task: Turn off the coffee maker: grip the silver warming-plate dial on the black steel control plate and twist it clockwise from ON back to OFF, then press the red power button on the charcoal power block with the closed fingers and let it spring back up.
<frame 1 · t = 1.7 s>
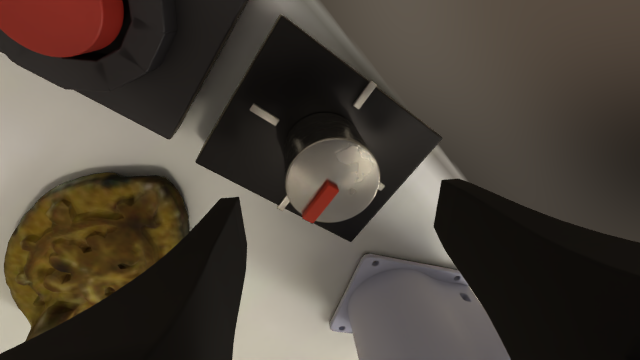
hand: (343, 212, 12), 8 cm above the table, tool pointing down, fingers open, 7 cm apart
dial plate: (317, 133, 19), on the table
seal: (107, 251, 21), on the table
dial: (328, 166, 15), point 4 cm above the table, hinge at 90.0°
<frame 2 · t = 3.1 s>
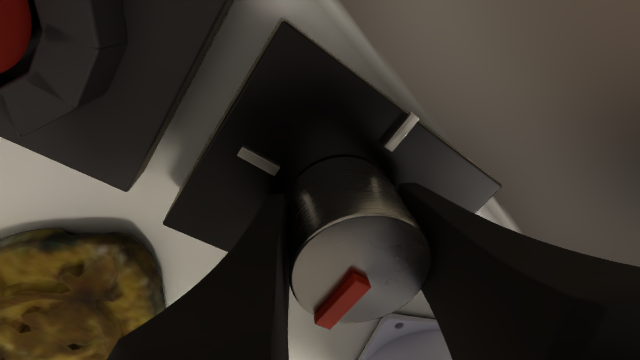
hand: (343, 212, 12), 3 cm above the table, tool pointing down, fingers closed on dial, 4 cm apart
dial plate: (329, 174, 14), on the table
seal: (60, 319, 16), on the table
dial: (350, 238, 10), point 4 cm above the table, hinge at 89.9°, touching gripper
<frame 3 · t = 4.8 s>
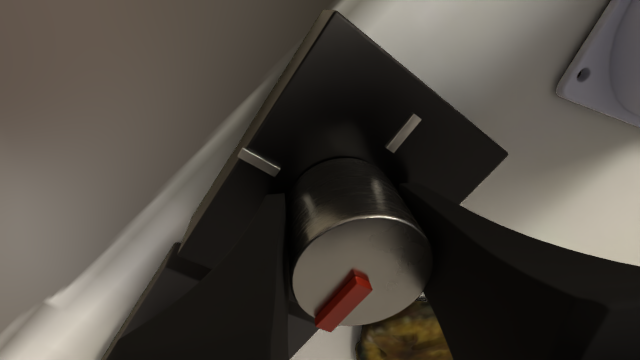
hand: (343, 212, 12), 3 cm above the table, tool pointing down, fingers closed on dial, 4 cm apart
dial plate: (330, 174, 14), on the table
power block: (206, 332, 18), on the table
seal: (439, 350, 22), on the table
dial: (351, 239, 10), point 4 cm above the table, hinge at -0.2°, touching gripper
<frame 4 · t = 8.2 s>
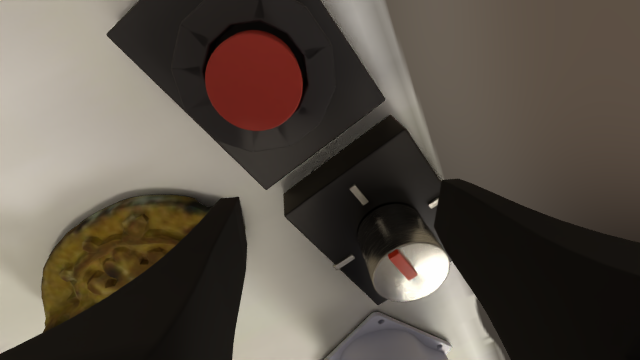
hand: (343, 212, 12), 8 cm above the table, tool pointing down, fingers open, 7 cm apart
power button: (256, 80, 13), point 4 cm above the table, slide at 0.2 cm
dial plate: (378, 208, 22), on the table
power block: (260, 64, 16), on the table
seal: (148, 261, 22), on the table
dial: (400, 252, 18), point 4 cm above the table, hinge at -0.2°
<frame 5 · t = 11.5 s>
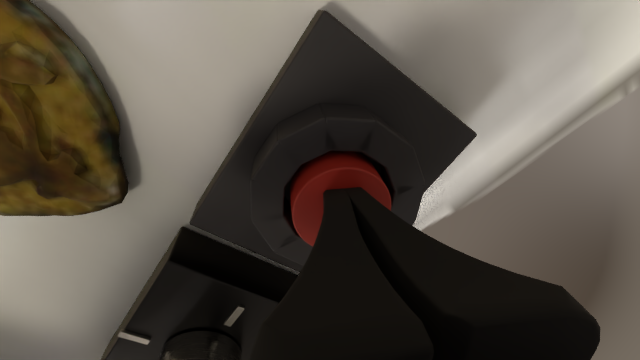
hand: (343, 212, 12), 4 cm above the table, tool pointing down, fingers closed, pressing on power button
power button: (338, 200, 12), point 3 cm above the table, slide at -0.6 cm, touching gripper
dial plate: (210, 314, 19), on the table
power block: (326, 163, 15), on the table
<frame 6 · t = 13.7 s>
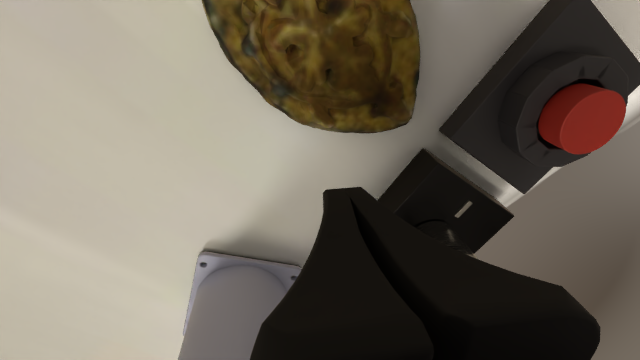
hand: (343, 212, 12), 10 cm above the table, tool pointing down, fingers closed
power button: (579, 119, 18), point 4 cm above the table, slide at 0.2 cm
dial plate: (415, 222, 26), on the table
power block: (530, 100, 22), on the table
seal: (317, 33, 18), on the table
dial: (440, 261, 22), point 4 cm above the table, hinge at -0.2°
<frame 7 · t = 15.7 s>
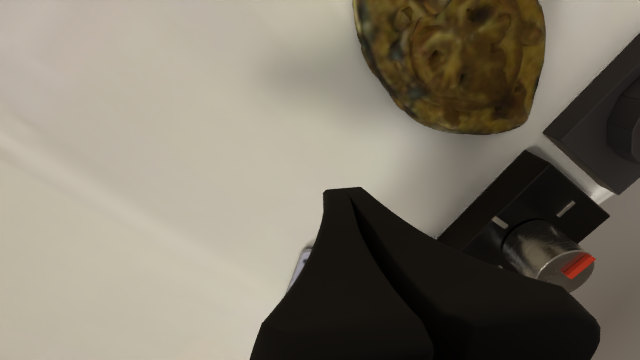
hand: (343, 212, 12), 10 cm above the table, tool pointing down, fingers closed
dial plate: (506, 222, 26), on the table
power block: (630, 105, 23), on the table
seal: (446, 40, 20), on the table
dial: (546, 258, 22), point 4 cm above the table, hinge at -0.2°
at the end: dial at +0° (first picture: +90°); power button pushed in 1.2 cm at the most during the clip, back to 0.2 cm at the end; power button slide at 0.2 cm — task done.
